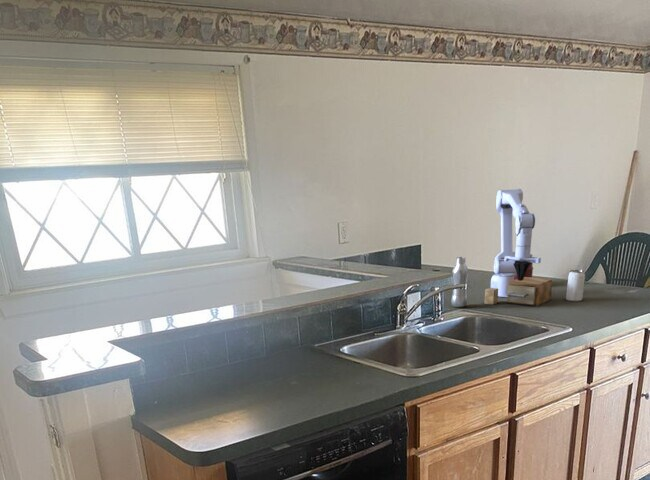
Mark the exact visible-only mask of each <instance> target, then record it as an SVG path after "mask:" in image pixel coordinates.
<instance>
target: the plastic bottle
mask: <svg viewBox="0 0 650 480" xmlns="http://www.w3.org/2000/svg"><path fill="white" fill-rule="evenodd" d="M466 261H467V260H466V257H465V256H457V257H456V260H455V263H456V264H455V265H454V267H453V268H452V271H451V273H452V284H453V285H456V284H466V285H467V281H468V275H469V268H468V266H467V265H466ZM453 285H452V286H453ZM450 303H451V306H452V307H456V308H463V307H466V305H467V303H468V296H467V288H466V289H454V290H453V289H452V295H451V300H450Z"/></svg>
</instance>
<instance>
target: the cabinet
mask: <svg viewBox="0 0 650 480" xmlns="http://www.w3.org/2000/svg"><path fill="white" fill-rule="evenodd" d="M509 285H523V286H534V287H536V294H535V303H534V304H525V303H515V302H507V304H515V305H525V306H531V307H532V306H533V307H537V306H539V305H541V304H544V303H546V302H549V301H551V298H552V287H553V279H552V278H543V277H533V276H532V277H524V279H523V280H522V281H518V279H517V280H514V281H511V282H509Z"/></svg>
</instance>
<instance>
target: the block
mask: <svg viewBox="0 0 650 480" xmlns="http://www.w3.org/2000/svg"><path fill="white" fill-rule="evenodd" d="M498 298H499V296H498V288H491V287H488V288H485V290H484V304H486V305H496V304H497V303H498V301H499V299H498Z"/></svg>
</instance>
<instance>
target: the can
mask: <svg viewBox="0 0 650 480" xmlns="http://www.w3.org/2000/svg"><path fill="white" fill-rule="evenodd" d="M585 279H586V273H585V270H582V269H571V270H570V271H569V273H568V277H567V286H566V295H565V300H566V301H568V302H582V300H583V296H584V288H585V281H586V280H585Z"/></svg>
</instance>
